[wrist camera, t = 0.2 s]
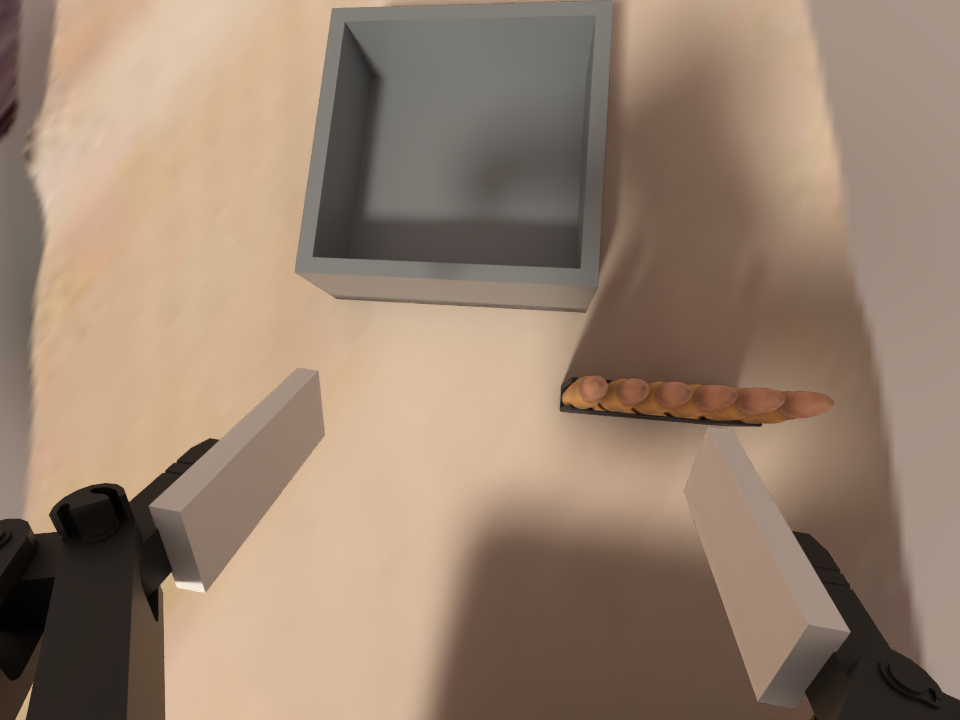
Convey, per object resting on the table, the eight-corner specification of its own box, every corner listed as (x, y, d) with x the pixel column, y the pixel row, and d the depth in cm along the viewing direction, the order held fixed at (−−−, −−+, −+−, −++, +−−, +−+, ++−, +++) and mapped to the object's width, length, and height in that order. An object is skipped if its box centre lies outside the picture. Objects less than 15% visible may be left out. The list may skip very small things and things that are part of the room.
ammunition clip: (559, 411, 31) (576, 404, 19) (561, 384, 31) (578, 360, 19) (727, 426, 29) (858, 428, 18) (728, 397, 30) (858, 380, 18)
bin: (585, 312, 31) (597, 286, 25) (336, 298, 34) (294, 272, 28) (599, 74, 34) (613, 0, 28) (365, 76, 36) (332, 8, 30)
